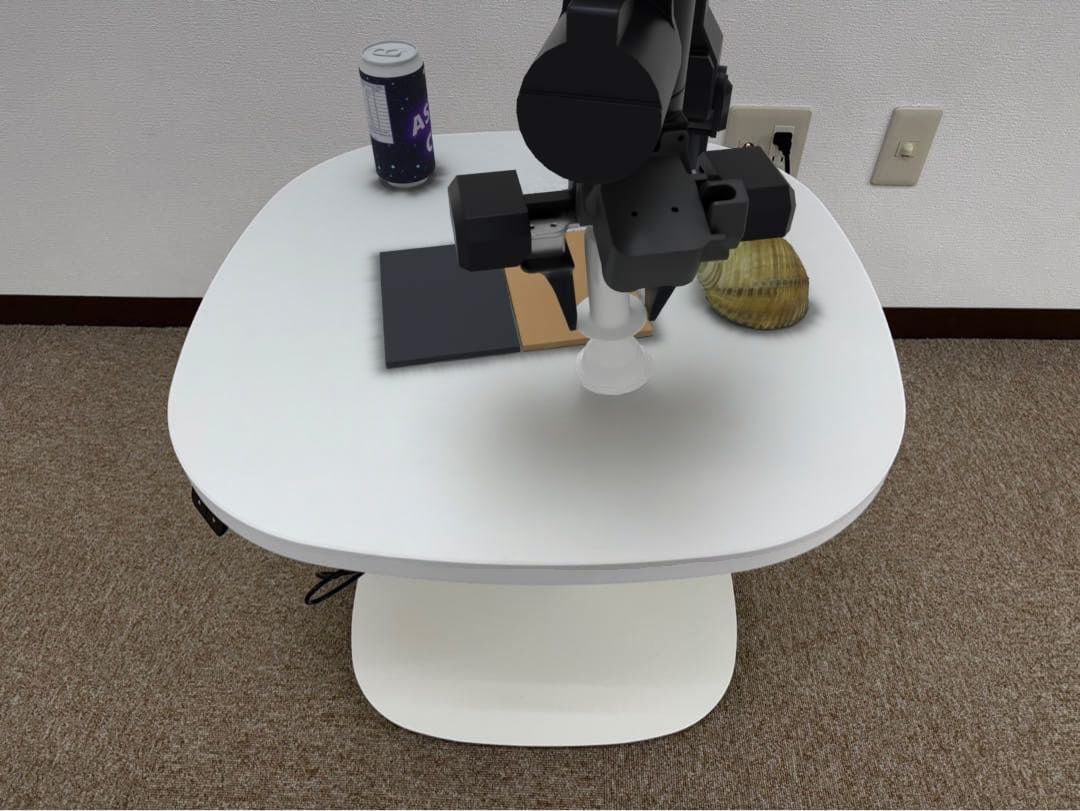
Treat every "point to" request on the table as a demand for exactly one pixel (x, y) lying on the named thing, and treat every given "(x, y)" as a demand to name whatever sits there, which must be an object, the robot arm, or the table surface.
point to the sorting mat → (472, 307)
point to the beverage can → (397, 112)
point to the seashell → (758, 284)
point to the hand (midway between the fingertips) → (610, 322)
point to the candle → (609, 333)
